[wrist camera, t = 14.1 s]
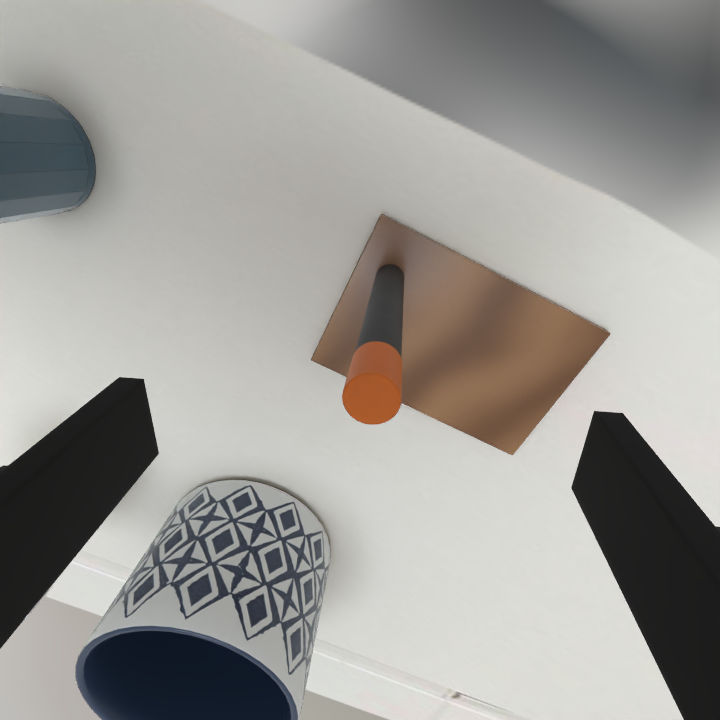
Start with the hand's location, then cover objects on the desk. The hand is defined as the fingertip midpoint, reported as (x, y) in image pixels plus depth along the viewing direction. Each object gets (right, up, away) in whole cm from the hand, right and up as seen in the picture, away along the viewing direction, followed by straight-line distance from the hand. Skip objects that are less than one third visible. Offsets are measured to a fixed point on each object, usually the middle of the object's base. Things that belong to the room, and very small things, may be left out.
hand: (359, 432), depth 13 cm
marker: (+2, +8, +18) cm, 20 cm away
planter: (-11, -15, +31) cm, 36 cm away
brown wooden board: (+7, +3, +20) cm, 21 cm away
